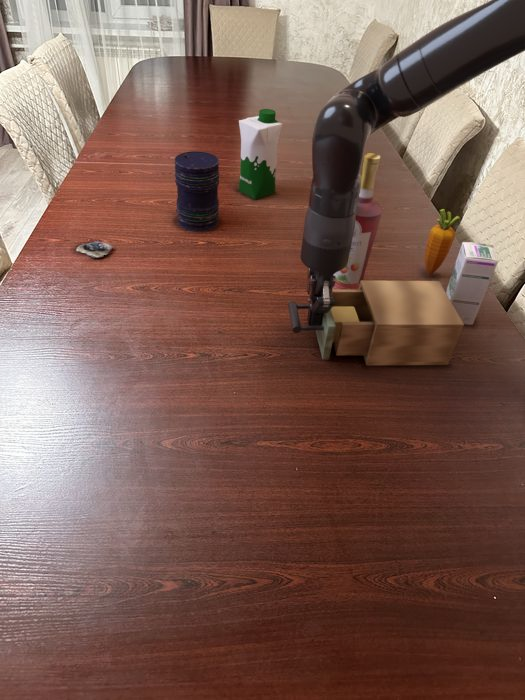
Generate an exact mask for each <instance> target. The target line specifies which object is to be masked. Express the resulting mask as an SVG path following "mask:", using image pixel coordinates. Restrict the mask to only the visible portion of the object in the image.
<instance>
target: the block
mask: <svg viewBox="0 0 525 700" xmlns="http://www.w3.org/2000/svg"><path fill="white" fill-rule="evenodd" d="M331 312H332V315H333V319H334V322H335V326H336V327H335V332H334V337H333V342H338V338H339V334H340V329H341V324H342V322H359V319H358V316H357V313H356V311H355V308H354V307H332V308H331ZM333 342H332V343H333Z"/></svg>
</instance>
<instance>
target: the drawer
mask: <svg viewBox="0 0 525 700" xmlns="http://www.w3.org/2000/svg"><path fill="white" fill-rule="evenodd" d="M331 297H332V298H334V300H335V303H334V306H333V307H354V308H355V311H356V313H357V316H358V319H359V322H342V324H341V329H340V334H339V338H338V342H333V337H334V332H335V327H336V326H335V322H334V319H333V315H332V312H331V309H330V311H329V312H328V313H323V315H322V321H321V325H320V326H309V325H301V320H300V315H299V310H309V303H308V304H307V303H296V302H295V301H289V302H288V303H287V308H288V314H289V319H290V325H291V330H292V332H293V334H300V333H301V331H315V334H316V338H317V342H318V346H319V351H320V355H321V360H330V357H331V352H332V346H333V348H334V351H335V356H363V355H368V351H369V347H370V343H371V339H372V335H373V332H374V328H375V323H374V320H373V318H372V315H371V312H370V310H369V307H368V304H367V301H366V299H365V296H364V293H363V291H362V290H348V289H332V293H331Z"/></svg>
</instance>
